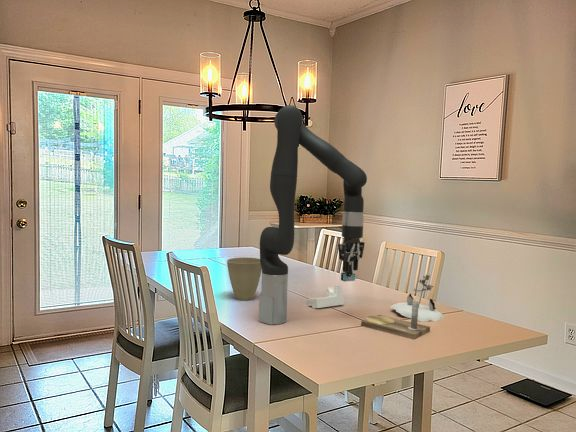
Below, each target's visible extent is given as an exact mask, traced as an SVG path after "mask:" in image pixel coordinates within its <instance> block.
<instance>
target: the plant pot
mask: <svg viewBox="0 0 576 432" xmlns="http://www.w3.org/2000/svg"><path fill="white" fill-rule="evenodd" d="M226 264H227V265H226V266H227V271H228V272H227V273H228V277H229V281H230V285H231V288H232V292H233V295H234V297H235V299H236V298H237V299H236V300H239V299H241V300H240V301H249V299H250V300H252V299H254V297H255V295H256V292H257V289H258V286H259V282H260V279H261V276H262V267H261V264H260V258H257V257H248V256H247V257H245V256H244V257H243V256H241V257H231V258H227V260H226Z"/></svg>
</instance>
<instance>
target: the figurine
mask: <svg viewBox="0 0 576 432" xmlns="http://www.w3.org/2000/svg"><path fill="white" fill-rule="evenodd" d="M430 276H431V275H430V274H427V273H426V274H425V275H423V277H422V279H419V280H418V283H420V284H422V289H416V288H413V291H415V292H417V293H418V292H419V293H420V297H419V301H418V321H417V322H421V323H427V322H429V321H432V322H437V321H440V320H442V319H444V318H445V315H443V313H442V312H440V311H438V309H436V306H435V302H434V300H433V299H432V298H429V303H428V305H424V304H421V299H422V295H423V292H424V291H431V290H432V289H433V287H434V286H433V285H431V284H426V282H427V281H429V280H430ZM426 280H427V281H426ZM425 287H426V289H425ZM412 302H416V301H415V300H414V297H413V296H412V294H411V293H409V294H408V296H407V297H406V302H397V303H395V304H392V305H391V306H390V308H391V309H393V310H395V312H396V313H398V314H400V315H401V316H402V317H403V316H404V317H405V318H407V319H411V318H412Z"/></svg>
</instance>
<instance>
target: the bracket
mask: <svg viewBox="0 0 576 432" xmlns="http://www.w3.org/2000/svg"><path fill="white" fill-rule="evenodd" d="M326 295H327V296H324V297H315V298H309V299H308V298H307V299H306V301H305V302H306V306H308V307H311V308H312V309H319V308H321V309H322V308H326V307H327V308H328V307H335V306H342V305H345V302H344V293H343V285H335V286H334V287H333V285H331V286H326Z"/></svg>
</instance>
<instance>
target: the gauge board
mask: <svg viewBox="0 0 576 432" xmlns="http://www.w3.org/2000/svg"><path fill="white" fill-rule="evenodd" d="M418 303H419V301H415V302H414V301H413V302H412V318H410V320H411V321H407V320H402V319H398V318H393V317H389V316H386V315H381V314H377V315H369V316H367V317H365V319H364V320H361V322H360V326H361V327H365V328H369V329H373V330H377V331H380V332H384V333H388V334H392V335H395V336H400V337H403V338H408V339H412V340H414V339H417V338H419V337H422V336H423V335H425V334H427V333H429V332H430V331H431V326H428V325H423V324H420V323H418V322H419V321H418Z"/></svg>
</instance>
